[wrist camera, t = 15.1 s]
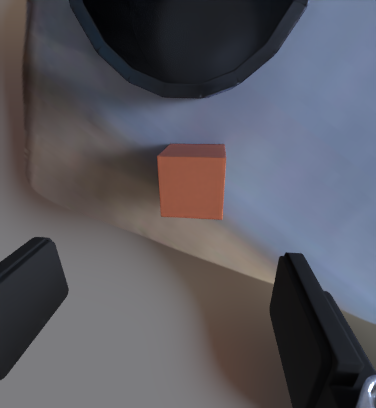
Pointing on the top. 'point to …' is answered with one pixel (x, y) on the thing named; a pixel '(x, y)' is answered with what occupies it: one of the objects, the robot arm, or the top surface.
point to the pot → (187, 40)
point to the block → (192, 180)
